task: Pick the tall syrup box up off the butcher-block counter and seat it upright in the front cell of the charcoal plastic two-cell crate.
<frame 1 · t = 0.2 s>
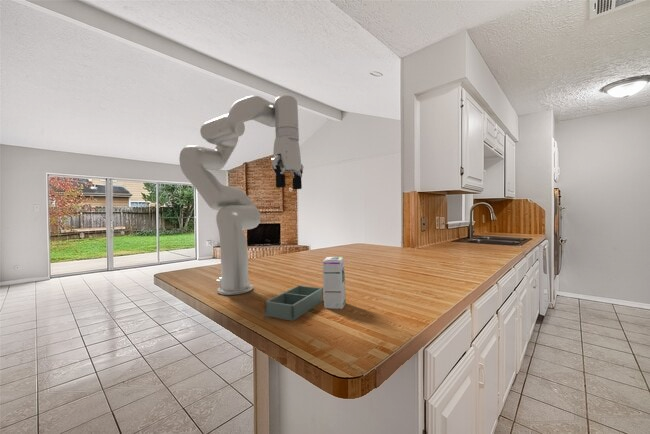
hand: (289, 188, 92), 36 cm above the table, tool pointing down, fingers open, 9 cm apart
syrup box: (334, 306, 85), on the table
crate: (296, 307, 84), on the table
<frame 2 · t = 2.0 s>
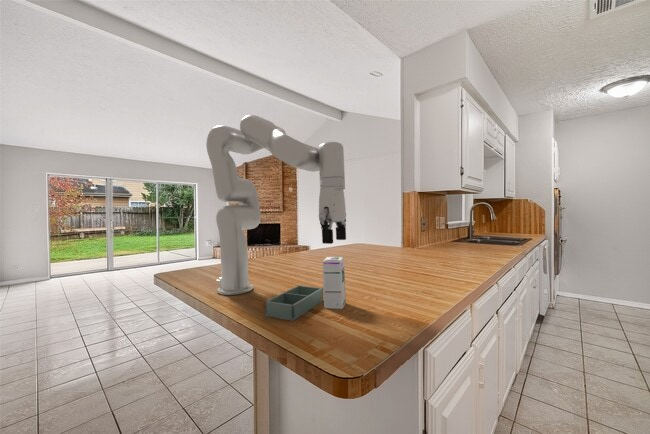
hand: (334, 241, 84), 20 cm above the table, tool pointing down, fingers open, 9 cm apart
nothing on the table moved.
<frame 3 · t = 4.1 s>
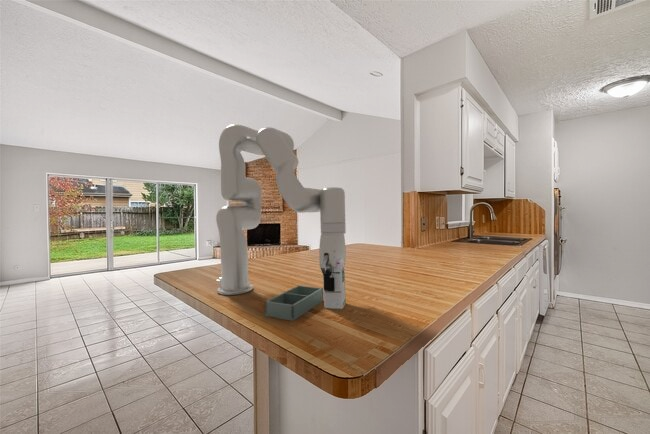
hand: (334, 286, 85), 6 cm above the table, tool pointing down, fingers closed on syrup box, 6 cm apart
syrup box: (334, 306, 85), on the table, touching gripper
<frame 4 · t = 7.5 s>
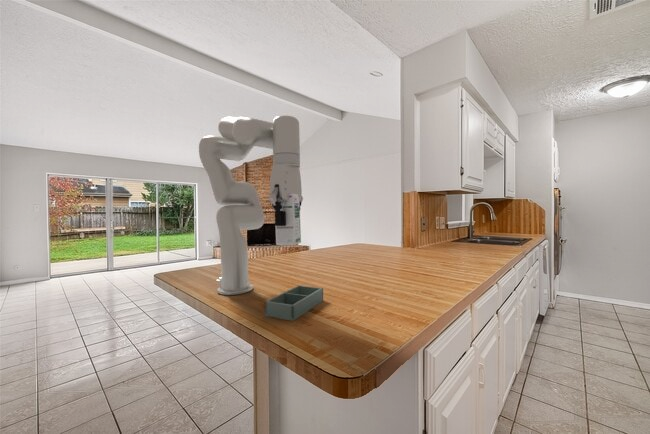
hand: (287, 224, 80), 25 cm above the table, tool pointing down, fingers closed on syrup box, 6 cm apart
syrup box: (288, 245, 80), point 19 cm above the table, touching gripper
when the fingers open (8 cm above the table, at t = 11.0 s): syrup box drops 1 cm, resting on crate.
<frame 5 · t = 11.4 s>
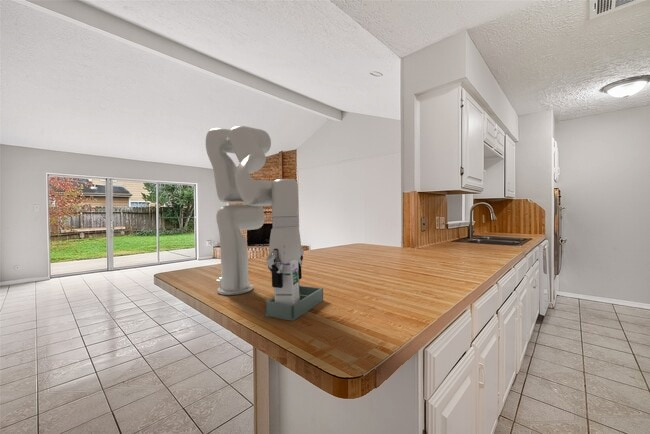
hand: (287, 282, 80), 9 cm above the table, tool pointing down, fingers open, 9 cm apart
syrup box: (287, 310, 80), point 1 cm above the table, touching crate
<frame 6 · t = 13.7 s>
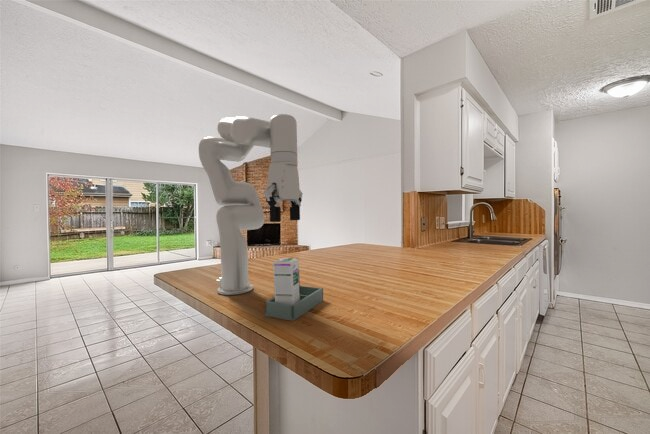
hand: (285, 220, 80), 26 cm above the table, tool pointing down, fingers open, 9 cm apart
nothing on the table moved.
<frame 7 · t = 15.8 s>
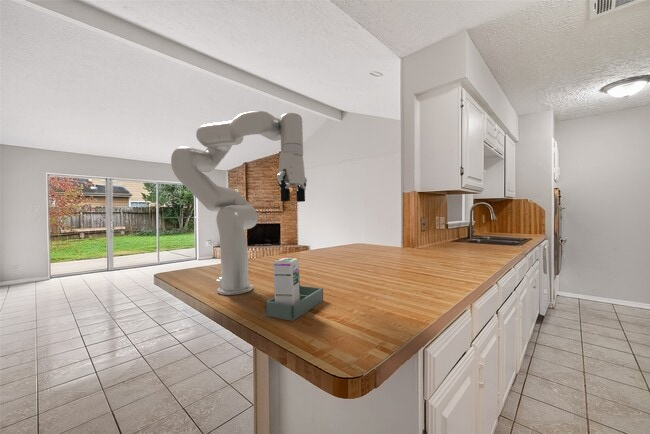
hand: (293, 201, 96), 32 cm above the table, tool pointing down, fingers open, 9 cm apart
nothing on the table moved.
at the end: syrup box 0.2 cm from the target spot on the crate, point 0.6 cm above the crate's base; syrup box tilted 0°; the gripper is holding nothing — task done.
